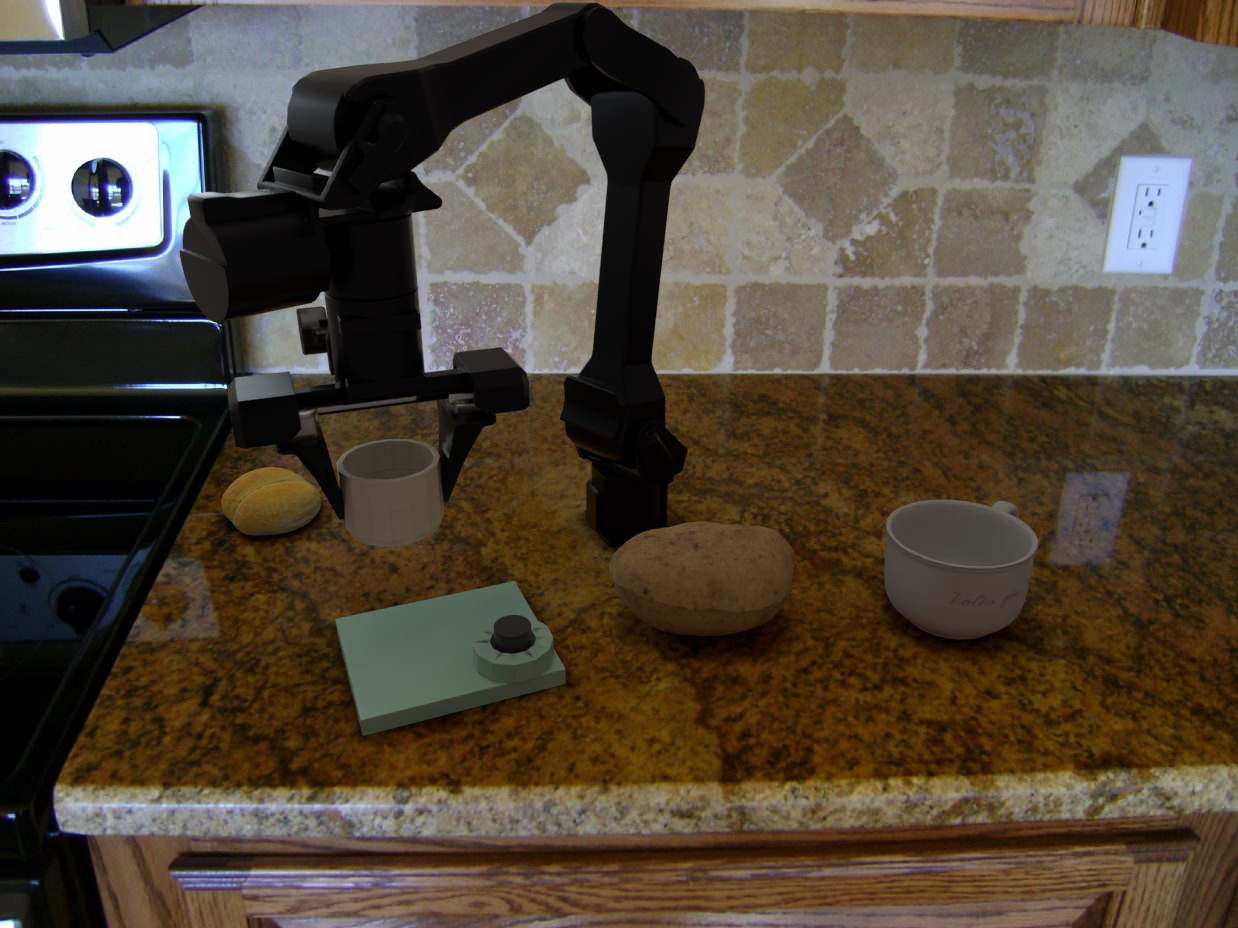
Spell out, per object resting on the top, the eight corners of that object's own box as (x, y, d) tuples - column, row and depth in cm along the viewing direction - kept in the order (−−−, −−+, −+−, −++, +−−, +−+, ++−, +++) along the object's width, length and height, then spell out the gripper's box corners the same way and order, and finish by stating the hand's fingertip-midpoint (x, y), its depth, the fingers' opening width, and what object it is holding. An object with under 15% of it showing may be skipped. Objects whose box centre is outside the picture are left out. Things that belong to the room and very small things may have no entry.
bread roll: (250, 549, 81) (243, 509, 79) (214, 511, 87) (206, 472, 85) (339, 519, 86) (334, 481, 84) (299, 485, 92) (293, 448, 90)
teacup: (953, 675, 67) (973, 581, 63) (844, 602, 75) (857, 514, 71) (1072, 617, 73) (1096, 529, 70) (960, 555, 82) (977, 473, 78)
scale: (515, 595, 75) (514, 563, 74) (567, 686, 65) (566, 651, 64) (337, 633, 70) (332, 600, 69) (363, 739, 60) (358, 702, 59)
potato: (605, 590, 76) (606, 504, 73) (775, 586, 77) (784, 501, 73) (611, 665, 67) (612, 571, 64) (803, 660, 68) (814, 567, 65)
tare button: (525, 629, 67) (524, 611, 66) (536, 649, 65) (536, 631, 64) (490, 637, 66) (489, 619, 65) (500, 658, 64) (499, 639, 63)
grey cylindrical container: (432, 494, 70) (427, 433, 68) (454, 537, 64) (449, 472, 62) (339, 509, 67) (331, 446, 65) (352, 555, 62) (344, 488, 60)
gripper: (483, 250, 68) (492, 443, 75) (208, 271, 62) (246, 480, 69) (529, 288, 59) (535, 505, 66) (211, 317, 53) (255, 554, 59)
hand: (394, 508), depth 65 cm, fingers closed on grey cylindrical container, 7 cm apart
